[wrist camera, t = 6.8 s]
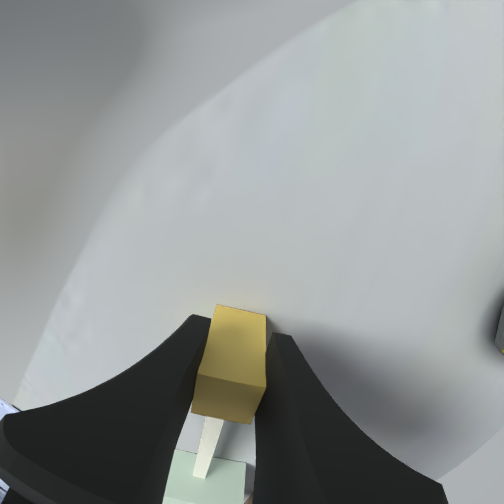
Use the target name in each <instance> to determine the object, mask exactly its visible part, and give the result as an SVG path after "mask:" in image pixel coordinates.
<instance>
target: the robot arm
mask: <svg viewBox="0 0 504 504" xmlns="http://www.w3.org/2000/svg"><path fill="white" fill-rule="evenodd" d="M210 324H211V318H207V317H202V316H198V315H194V314H193V315H191V316H189V317H188V318H187V320H186V321H185V322H184V323H183V324H182V325H181V326H180V327H179V328H178V329H177V330H176V331H175V332H174V333H173V334H172V335H171V336H170V337H169V338H167V339H166V340H165V341H164V342H163V343H162V344H161V345H159V346H158V347H157V348H156V349H155V350H153V351H152V352H151V353H149V354H148V355H147V356H145V357H144V358H143V359H141V360H140V361H139V362H137V363H136V364H134V365H133V366H131V367H130V368H128V369H127V370H125V371H124V372H122V373H120V374H119V375H117V376H115V377H113V378H112V379H110V380H108V381H106V382H104V383H102V384H100V385H98V386H96V387H94V388H92V389H90V390H88V391H85V392H83V393H81V394H78V395H76V396H73V397H70V398H67V399H65V400H62V401H59V402H56V403H53V404H50V405H47V406H43V407H39V408H35V409H30V410H26V411H21V412H20V411H18V410H17V409H15V408H14V407H13V406H11V405H10V404H8V403H7V402H5V401H4V400H3V399H1V398H0V504H162V503H163V498H164V493H165V489H166V484H167V480H168V476H169V471H170V467H171V463H172V459H173V455H174V451H175V448H176V444H177V441H178V438H179V436H180V433H181V430H182V427H183V425H184V422H185V419H186V417H187V414H188V411H189V408H190V406H191V403H192V400H193V396H194V390H195V384H196V378H197V373H198V369H199V366H200V364H201V361H202V358H203V354H204V351H205V347H206V343H207V339H208V334H209V329H210ZM265 376H266V389H265V391H264V394H263V396H262V399H261V401H260V403H259V406H258V408H257V410H256V413H255V436H256V470H255V481H254V491H253V499H252V504H448V501H447V498H446V495H445V492H444V489H443V486H442V485H441V484H440V483H438V482H436V481H434V480H432V479H430V478H428V477H426V476H424V475H422V474H420V473H419V472H417V471H415V470H413V469H411V468H410V467H408V466H407V465H405V464H404V463H402V462H401V461H399V460H398V459H396V458H395V457H393V456H392V455H390V454H389V453H388V452H386V451H385V450H384V449H382V448H381V447H380V446H379V445H378V444H376V443H375V442H374V441H373V440H372V439H371V438H369V437H368V436H367V435H366V434H365V433H364V432H363V431H362V430H361V429H360V428H359V427H358V426H357V425H356V424H355V423H354V422H353V421H352V420H351V419H350V418H349V417H348V416H347V415H346V414H345V413H344V412H343V411H342V409H341V408H340V407H339V406H338V405H337V404H336V402H335V401H334V400H333V399H332V397H331V396H330V395H329V393H328V392H327V391H326V390H325V388H324V387H323V385H322V384H321V383H320V381H319V380H318V378H317V377H316V375H315V374H314V372H313V371H312V369H311V368H310V366H309V365H308V363H307V361H306V360H305V358H304V356H303V355H302V353H301V352H300V350H299V348H298V347H297V345H296V343H295V342H294V340H293V338H292V337H291V336H290V335H285V334H279V333H274V332H273V333H272V336H271V339H270V342H269V345H268V347H267V350H266V353H265Z"/></svg>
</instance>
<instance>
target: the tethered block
mask: <svg viewBox="0 0 504 504" xmlns="http://www.w3.org/2000/svg"><path fill="white" fill-rule="evenodd" d="M265 353H266V315H262V314H257V313H252V312H248V311H243V310H239V309H234V308H230V307H226V306H222V305H216V308H215V312H214V315H213V319H212V322H211V326H210V330H209V334H208V339H207V343H206V347H205V351H204V354H203V358H202V361H201V364H200V366H199V369H198V373H197V378H196V384H195V390H194V396H193V402H192V408H191V413H194V414H199V415H203V416H206V419H205V424H204V428H203V432H202V436H201V441H200V445H199V449H198V453H197V454H194V453H190V452H186V451H182V450H178V449H175V451H174V455H173V459H172V463H171V467H170V471H169V476H168V480H167V484H166V489H165V493H164V498H163V503H162V504H243V503H244V487H245V471H246V463H244V462H237V461H231V460H225V459H219V458H214V457H212V456H213V453H214V450H215V447H216V444H217V441H218V438H219V435H220V432H221V429H222V426H223V422H224V420H227V421H232V422H238V423H244V424H251V422H252V419H253V417H254V415H255V413H256V410H257V408H258V406H259V403H260V401H261V399H262V396H263V394H264V391H265V389H266V376H265Z"/></svg>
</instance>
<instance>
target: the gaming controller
mask: <svg viewBox="0 0 504 504" xmlns="http://www.w3.org/2000/svg"><path fill="white" fill-rule="evenodd" d="M494 343H495V345H496V346H497V348H498V349H499V351H500V352H501V353H502V354H503V355H504V306H503V308H502V311H501V316H500V321H499V326H498V330H497V334H496V338H495V342H494Z"/></svg>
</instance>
